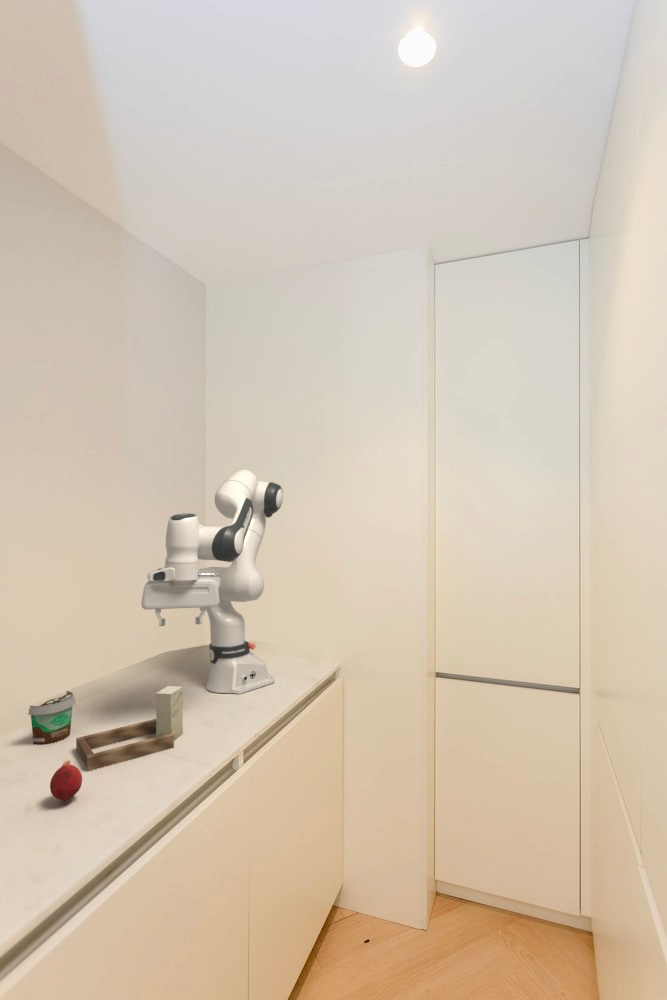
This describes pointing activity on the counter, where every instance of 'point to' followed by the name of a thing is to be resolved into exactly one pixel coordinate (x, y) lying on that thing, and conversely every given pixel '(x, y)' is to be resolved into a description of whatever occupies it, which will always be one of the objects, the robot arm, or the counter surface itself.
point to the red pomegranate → (66, 782)
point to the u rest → (122, 752)
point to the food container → (52, 719)
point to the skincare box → (169, 711)
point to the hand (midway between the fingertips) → (180, 624)
